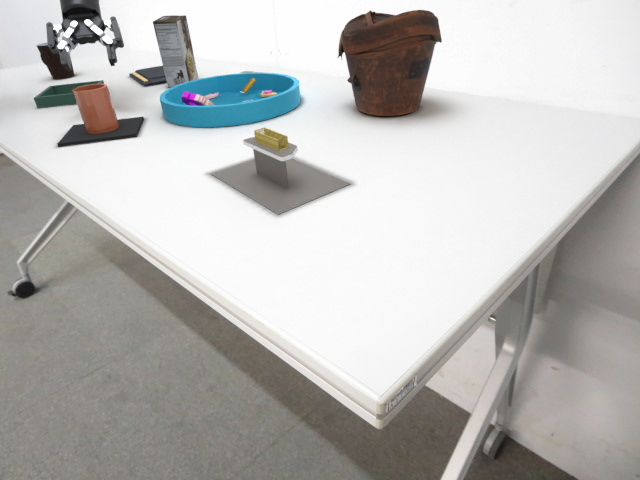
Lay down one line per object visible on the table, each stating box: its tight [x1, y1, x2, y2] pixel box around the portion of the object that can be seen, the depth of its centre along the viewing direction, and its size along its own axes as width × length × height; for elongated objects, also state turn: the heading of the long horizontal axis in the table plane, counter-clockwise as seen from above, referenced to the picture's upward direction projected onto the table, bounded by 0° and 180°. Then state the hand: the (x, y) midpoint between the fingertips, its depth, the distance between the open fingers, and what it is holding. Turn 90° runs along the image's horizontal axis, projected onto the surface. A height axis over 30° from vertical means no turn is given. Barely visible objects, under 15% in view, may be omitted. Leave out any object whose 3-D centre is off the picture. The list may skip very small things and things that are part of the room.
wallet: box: [128, 65, 167, 87], centre depth 131 cm, size 20×2×15 cm
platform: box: [210, 127, 351, 215], centre depth 61 cm, size 12×18×7 cm, turn 39°
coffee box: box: [152, 14, 199, 88], centre depth 117 cm, size 9×6×16 cm
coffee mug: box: [36, 40, 75, 80], centre depth 138 cm, size 12×9×10 cm
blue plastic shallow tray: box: [159, 72, 301, 128], centre depth 97 cm, size 30×30×6 cm
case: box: [337, 9, 443, 117], centre depth 85 cm, size 18×20×18 cm
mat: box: [56, 116, 145, 148], centre depth 88 cm, size 14×12×1 cm
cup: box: [72, 83, 119, 134], centre depth 86 cm, size 6×6×8 cm
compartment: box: [33, 79, 105, 109], centre depth 114 cm, size 14×14×2 cm
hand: (90, 66), depth 92 cm, fingers open, 8 cm apart
